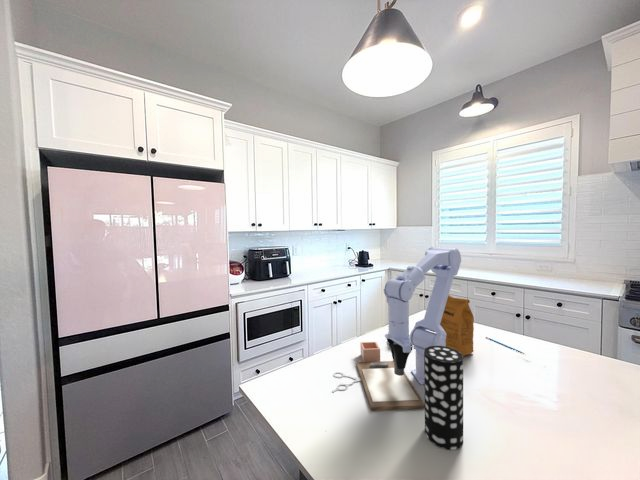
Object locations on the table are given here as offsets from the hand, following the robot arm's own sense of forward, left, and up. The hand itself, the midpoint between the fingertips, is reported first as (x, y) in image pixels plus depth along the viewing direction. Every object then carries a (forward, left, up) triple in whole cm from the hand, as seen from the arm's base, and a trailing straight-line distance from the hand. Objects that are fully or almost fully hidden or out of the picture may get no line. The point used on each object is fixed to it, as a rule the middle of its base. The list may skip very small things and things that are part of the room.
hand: (399, 365), depth 78 cm
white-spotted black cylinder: (-5, +16, -9) cm, 19 cm away
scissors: (+10, -8, -10) cm, 16 cm away
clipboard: (+2, -6, -9) cm, 11 cm away
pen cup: (+4, -22, -9) cm, 24 cm away
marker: (0, 0, -2) cm, 2 cm away
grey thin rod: (-53, -28, -10) cm, 61 cm away
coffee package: (-31, -26, -9) cm, 41 cm away
